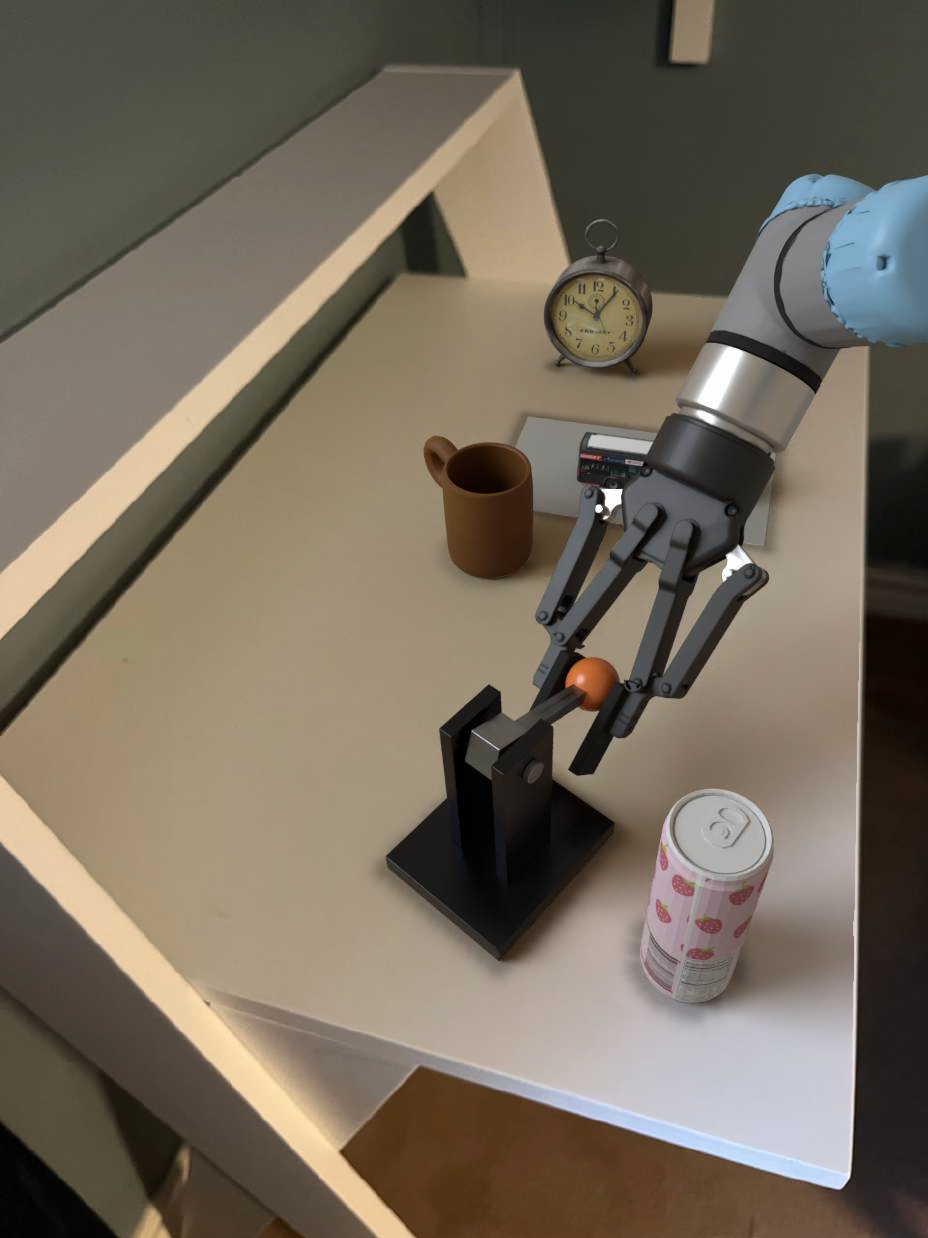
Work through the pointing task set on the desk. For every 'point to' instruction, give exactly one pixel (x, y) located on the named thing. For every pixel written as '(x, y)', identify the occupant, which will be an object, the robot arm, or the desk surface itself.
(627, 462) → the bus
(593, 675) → the switch lever
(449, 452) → the mug
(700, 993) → the beverage can
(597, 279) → the alarm clock
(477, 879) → the switch bracket
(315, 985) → the desk surface
